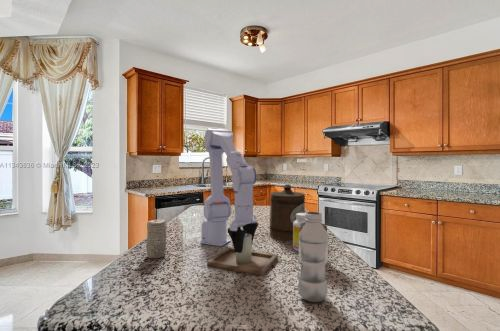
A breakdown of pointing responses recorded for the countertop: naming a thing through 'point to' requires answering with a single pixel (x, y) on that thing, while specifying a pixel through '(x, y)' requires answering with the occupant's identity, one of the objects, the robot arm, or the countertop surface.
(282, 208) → the wooden container
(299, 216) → the supplement bottle
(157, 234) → the carving
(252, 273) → the tray
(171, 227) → the countertop surface
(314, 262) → the plastic bottle
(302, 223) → the jar
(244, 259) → the cup
